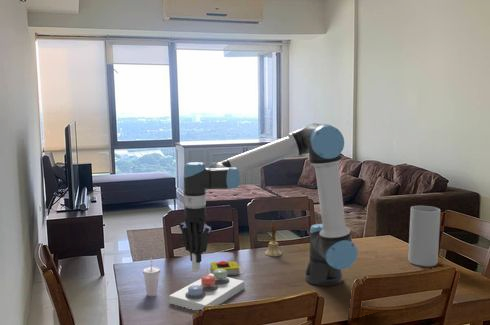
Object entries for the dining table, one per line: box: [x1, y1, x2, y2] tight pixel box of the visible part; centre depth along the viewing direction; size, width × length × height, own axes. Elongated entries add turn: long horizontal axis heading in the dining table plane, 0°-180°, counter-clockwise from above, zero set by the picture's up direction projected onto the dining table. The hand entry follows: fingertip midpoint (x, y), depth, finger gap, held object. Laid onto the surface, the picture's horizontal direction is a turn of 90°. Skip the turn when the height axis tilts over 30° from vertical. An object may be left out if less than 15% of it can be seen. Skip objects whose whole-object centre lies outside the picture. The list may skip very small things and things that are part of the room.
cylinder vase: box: [407, 205, 441, 268], centre depth 214 cm, size 12×12×25 cm
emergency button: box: [207, 260, 245, 276], centre depth 204 cm, size 9×4×15 cm
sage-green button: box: [213, 269, 228, 279], centre depth 185 cm, size 5×5×2 cm
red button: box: [200, 274, 215, 286], centre depth 178 cm, size 5×5×2 cm
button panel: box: [168, 273, 245, 311], centre depth 178 cm, size 16×26×3 cm, turn 149°
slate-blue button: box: [188, 285, 203, 297], centre depth 171 cm, size 5×5×2 cm
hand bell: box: [264, 220, 283, 257], centre depth 227 cm, size 8×8×16 cm
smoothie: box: [142, 257, 161, 297], centre depth 179 cm, size 6×6×14 cm
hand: (196, 270), depth 170 cm, fingers closed
